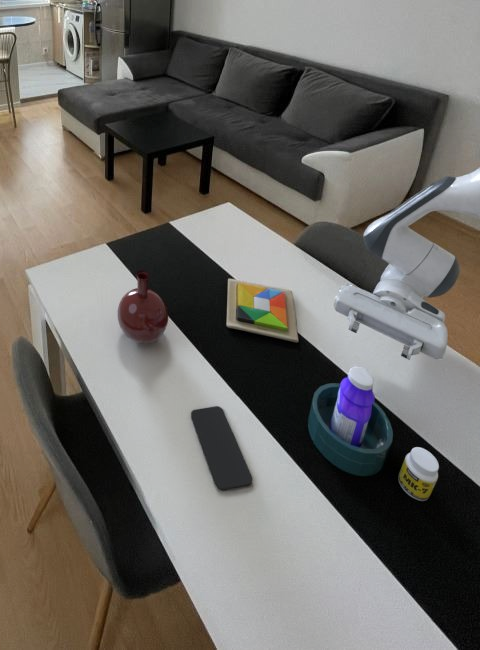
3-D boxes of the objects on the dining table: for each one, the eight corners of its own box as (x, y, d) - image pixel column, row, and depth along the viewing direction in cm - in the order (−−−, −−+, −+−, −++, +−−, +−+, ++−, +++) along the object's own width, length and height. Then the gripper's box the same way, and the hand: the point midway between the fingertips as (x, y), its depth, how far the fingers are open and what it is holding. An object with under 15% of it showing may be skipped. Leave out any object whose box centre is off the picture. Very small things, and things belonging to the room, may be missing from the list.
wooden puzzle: (226, 330, 113) (227, 321, 112) (227, 280, 130) (228, 271, 128) (298, 346, 108) (300, 336, 106) (290, 292, 124) (292, 283, 123)
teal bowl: (397, 446, 86) (405, 423, 83) (364, 493, 79) (372, 470, 76) (328, 393, 96) (334, 371, 94) (294, 430, 90) (299, 408, 87)
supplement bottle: (395, 486, 80) (405, 458, 77) (400, 466, 83) (411, 438, 80) (427, 508, 76) (439, 480, 73) (431, 486, 79) (443, 458, 76)
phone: (221, 405, 94) (255, 483, 81) (221, 407, 95) (254, 485, 81) (189, 410, 94) (217, 489, 80) (188, 412, 94) (217, 492, 80)
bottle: (330, 412, 92) (344, 354, 85) (361, 426, 89) (378, 367, 82) (328, 444, 86) (343, 384, 80) (361, 459, 83) (379, 399, 77)
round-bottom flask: (144, 365, 105) (144, 303, 98) (107, 332, 115) (105, 273, 107) (178, 334, 113) (180, 275, 105) (141, 306, 122) (141, 250, 115)
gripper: (346, 271, 104) (326, 304, 95) (454, 317, 90) (443, 360, 81) (341, 292, 106) (322, 325, 97) (447, 339, 92) (435, 383, 83)
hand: (378, 342), depth 89 cm, fingers open, 8 cm apart
